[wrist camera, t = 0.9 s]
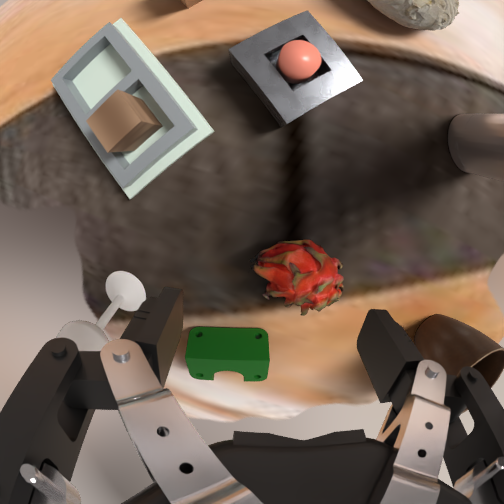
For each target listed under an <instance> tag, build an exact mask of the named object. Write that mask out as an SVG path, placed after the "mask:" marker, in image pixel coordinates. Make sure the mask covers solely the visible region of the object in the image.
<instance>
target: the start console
mask: <svg viewBox="0 0 504 504" xmlns="http://www.w3.org/2000/svg"><path fill="white" fill-rule="evenodd" d="M293 40H303V41H307V42H309V43H311V44H312V45H314V46H315V47H316V48H317V49H318V51H319V52H320V55H321V65H320V67H319V68H318V69H317V71H316V72H315V73H314V74H313V75H312V76H311V77H310V78H309V79H308V80H307V81H306V82H304V83H301V84H292V83H288V82H286V81H285V80H284V79H283V78H282V76H281V75H280V74H279V73H278V71H277V70H276V64H277V60H278V58H279V55H280V52H281V49H282V48H283V46H284V45H285V44H286V43H288V42H290V41H293ZM229 55H230V60H231V64H232V65H233V66H234V67H235V69H236V70H237V71H238V72H239V74H240V75H241V76H242V77H243V78H244V80H245V81H246V82H247V83H248V85H249V86H250V87H251V88H252V90H253V91H254V92H255V94H256V95H257V96H258V97H259V99H260V100H261V101H262V103H263V104H264V105H265V107H266V108H267V109H268V111H269V112H270V113H271V115H272V116H273V117H274V119H275V120H276V122H277V123H278V124H279V126H280V127H283V126H284V125H286V124H288V123H289V122H291V121H293V120H294V119H296V118H297V117H299V116H301V115H302V114H304V113H306V112H307V111H309V110H311V109H312V108H314V107H316V106H318V105H319V104H321V103H323V102H325V101H326V100H328V99H330V98H332V97H333V96H335V95H337V94H339V93H341V92H342V91H344V90H346V89H348V88H350V87H352V86H354V85H355V84H357V83H359V82H361V81H363V80H362V78H361V77H360V75H359V74H358V72H357V71H356V70H355V68H354V67H353V65H352V64H351V63H350V61H349V60H348V59H347V57H346V56H345V55H344V53H343V52H342V51H341V49H340V48H339V47H338V45H337V44H336V43H335V42H334V40H333V39H332V38H331V37H330V36H329V34H328V33H327V32H326V31H325V30H324V28H323V27H322V26H321V25H320V24H319V23H318V22H317V20H316V19H315V18H314V17H313V16H312V15H311V14H310V13H309V12H308V11H305V12H302V13H300V14H297V15H295V16H293V17H291V18H288V19H286V20H284V21H282V22H279V23H277V24H275V25H273V26H271V27H269V28H267V29H265V30H263V31H261V32H259V33H257V34H255V35H253V36H252V37H250V38H248V39H246V40H244V41H242V42H241V43H239V44H237V45H235V46H234V47H232V48H230V49H229Z"/></svg>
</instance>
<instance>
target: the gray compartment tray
mask: <svg viewBox="0 0 504 504" xmlns="http://www.w3.org/2000/svg"><path fill="white" fill-rule="evenodd" d="M51 81H52V83H53V86H54V87H55V89H56V91H57V92H58V94H59V96H60V97H61V99H62V101H63V102H64V104H65V106H66V107H67V109H68V110H69V112H70V114H71V115H72V117H73V118H74V120H75V121H76V123H77V124H78V126H79V128H80V129H81V131H82V132H83V134H84V135H85V137H86V138H87V140H88V141H89V143H90V144H91V146H92V147H93V149H94V150H95V151H96V153H97V154H98V156H99V157H100V159H101V160H102V162H103V163H104V164H105V166H106V167H107V169H108V170H109V171H110V173H111V174H112V176H113V177H114V178H115V180H116V181H117V183H118V184H119V185H120V187H121V188H122V189H123V191H124V192H125V193H126V195H127V196H128V197H129V199H132V198H134V197H135V196H136V195H137V194H138V193H139V192H140V191H141V190H142V189H144V188H145V187H146V186H147V185H148V184H149V183H150V182H152V181H153V180H154V179H155V178H156V177H157V176H159V175H160V174H161V173H162V172H163V171H165V170H166V169H167V168H168V167H169V166H171V165H172V164H173V163H174V162H176V161H177V160H178V159H179V158H181V157H182V156H183V155H184V154H186V153H187V152H188V151H190V150H191V149H192V148H193V147H195V146H196V145H197V144H199V143H200V142H201V141H203V140H204V139H205V138H207V137H208V136H210V135H211V134H212V133H214V130H213V129H212V128H211V126H210V125H209V124H208V122H207V121H206V120H205V118H204V117H203V116H202V115H201V113H200V112H199V111H198V109H197V108H196V107H195V106H194V104H193V103H192V102H191V100H190V99H189V98H188V97H187V95H186V94H185V93H184V92H183V90H182V89H181V88H180V87H179V85H178V84H177V83H176V82H175V80H174V79H173V78H172V77H171V75H170V74H169V73H168V72H167V71H166V69H165V68H164V67H163V66H162V64H161V63H160V62H159V61H158V60H157V58H156V57H155V56H154V55H153V54H152V52H151V51H150V50H149V49H148V48H147V47H146V45H145V44H144V43H143V42H142V41H141V40H140V38H139V37H138V36H137V35H136V34H135V33H134V31H133V30H132V29H131V28H130V27H129V26H128V25H127V23H126V22H125V21H124V20H123V19H122V18H120V19H119V20H118V21H116V22H115V23H114V24H111V23H110V22H109V23H108V24H106V25H105V26H104V27H103V28H102V29H101V30H99V31H98V32H97V33H96V34H95V35H94V36H93V37H92V38H91V39H90V40H88V41H87V42H86V43H85V44H84V45H83V46H82V47H81V48H80V49H79V50H78V51H77V52H76V53H75V54H74V55H73V56H72V57H71V58H70V59H69V60H68V62H67V63H66V64H65V65H64V66H63V67H62V68H61V69H60V70H59V71H58V73H57V74H56V75H55V76H54V77H53V78H52V80H51ZM117 89H118V90H121V91H123V92H126V93H128V94H131V95H133V96H135V97H138V98H140V99H142V100H143V101H144V102H145V103H146V105H147V106H148V107H149V108H150V110H151V111H152V112H153V114H154V115H155V116H156V118H157V119H158V120H159V122H160V123H161V124H162V126H163V127H161V128H160V129H159V130H158V131H157V132H156V133H154V134H153V135H152V136H151V137H150V138H148V139H147V140H146V141H145V142H144V143H143V144H142V145H141V146H139V147H138V148H137V149H136V150H135V151H124V152H110V153H107V151H106V150H105V148H104V147H103V145H102V144H101V142H100V141H99V140H98V138H97V137H96V135H95V134H94V132H93V131H92V129H91V128H90V126H89V125H88V123H87V122H86V120H87V119H88V118H89V117H90V116H91V115H92V114H93V113H94V112H95V111H96V110H97V109H98V108H99V107H100V106H101V105H102V104H103V103H104V102H105V101H106V100H107V99H108V98H109V97H110V96H111V95H112V94H113V93H114V92H115V91H116V90H117Z"/></svg>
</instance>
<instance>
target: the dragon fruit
mask: <svg viewBox="0 0 504 504" xmlns="http://www.w3.org/2000/svg"><path fill="white" fill-rule="evenodd" d="M277 243H279V244H276V245H274V246H272V247H270V248H268V249H265V250H262V251H260V252H259V253H258V254H257V255H256V256H255V258H252V259H251V260H250V262H251V263H252V262H254V261H258V264H257V263H255V265H254V266H253V265H251V269H253V270H254V271H255V273H256V274H258V275H259V276H261V277H263V278H265V279H267V280H268V281H270V282H269V283H267V287H266V290H265V294H263V296H264V297H265V298H267V299H269V300H270V298H269V295H272V296H273V297H285V298H286V301H285V306H286V307H290V306H291V305H292V304H293V303H295V305H297V306H301V315H306V314H307V312H308V310H309V308H310V309H311V310H313V309H315V310H317V311H318V312H319V311H321V310H322V309H323V308H325V307H326V306H330V305H331V304H333V303H334V302H336V301H339V300H340V299H339V298H340V297H341V292H342V291H343V284H342V282H343V279H344V278H343V277H342V276H341V275H339V274H337V268H338V269H341V268H342V267H343V264H342V263H341V262H340V260H338V259H336V258H330V257H329V256H328V255H327V254H326V253H325V252H324V250H323V248H322V247H321V246H319V245H317V244H315V243H314V242H313V241H311V240H298V241H278V242H277ZM338 288H340V289H341V290H340V289H338Z"/></svg>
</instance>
